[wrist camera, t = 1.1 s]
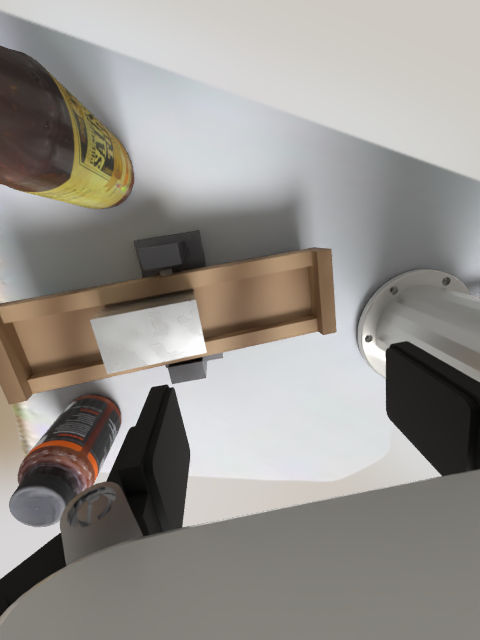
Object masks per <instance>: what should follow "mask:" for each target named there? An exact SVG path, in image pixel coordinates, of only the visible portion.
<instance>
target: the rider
mask: <svg viewBox="0 0 480 640" xmlns="http://www.w3.org/2000/svg"><path fill="white" fill-rule="evenodd" d="M90 322H91V325H92V328H93V331H94V335H95V338H96V341H97V344H98V347H99V350H100V353H101V356H102V359H103V362H104V366H105V369H106V372H107V374H111V373H116V372H120V371H125V370H130V369H134V368H139V367H143V366H148V365H152V364H157V363H162V362H166V361H171V360H175V359H180V358H185V357H189V356H194V355H198V354H203V353H207V352H206V347H205V342H204V337H203V332H202V327H201V322H200V318H199V313H198V308H197V303H196V298H195V293H194V290H189V291H184V292H178V293H173V294H168V295H162V296H157V297H152V298H147V299H141V300H136V301H131V302H125V303H120V304H115V305H109V306H105V307H104V308H103V309H101V310H100V311H99V312H98V313H97V314H96V315H95V316H94V317H93V318H91V319H90Z"/></svg>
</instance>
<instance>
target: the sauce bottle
mask: <svg viewBox="0 0 480 640" xmlns="http://www.w3.org/2000/svg"><path fill="white" fill-rule="evenodd" d="M0 184H3V185H6V186H8V187H10V188H13V189H16V190H19V191H23V192H27V193H31V194H34V195H38V196H43V197H47V198H51V199H55V200H59V201H63V202H67V203H71V204H75V205H79V206H83V207H86V208H94V209H104V208H111V207H114V206H117V205H119V204H121V203H122V202H123V201H125V200H126V199H127V197H128V196H129V194H130V192H131V190H132V187H133V184H134V173H133V167H132V162H131V160H130V158H129V156H128V153H127V152H126V150H125V148H124V147H123V145H122V144H121V143H120V141H119V140H118V139H117V138H116V137H115V136H114V135H113V134H112V133H111V132H110V131H109V130H108V129H107V128H106V127H105V126H104V125H103V124H102V123H101V122H100V121H99V120H97V119H96V118H95V117H94V116H93V115H92V114H91V113H90V112H89V111H88V110H87V109H86V108H85V107H84V106H83V105H82V104H81V103H80V102H79V101H78V100H77V99H76V98H75V97H74V96H73V95H72V94H71V93H70V92H68V91H67V90H66V89H65V88H64V87H63V86H62V85H61V84H60V83H59V82H58V81H57V80H56V79H55V78H54V77H53V76H52V75H51V74H50V73H49V72H48V71H47V70H46V69H45V68H44V67H43V66H42V65H41V64H39V63H38V62H37V61H36V60H34V59H33V58H32V57H30V56H28V55H26V54H24V53H22V52H18V51H15V50H11V49H8V48H5V47H3V46H0Z"/></svg>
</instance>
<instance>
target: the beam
mask: <svg viewBox="0 0 480 640" xmlns="http://www.w3.org/2000/svg"><path fill="white" fill-rule="evenodd" d="M159 273H160V275H157V276H152V277H146V278H140V279H135V280H129V281H124V282H118V283H113V284H107V285H101V286H96V287H90V288H85V289H79V290H73V291H68V292H62V293H57V294H51V295H45V296H40V297H34V298H29V299H23V300H18V301H12V302H6V303H1V304H0V385H1V387H2V389H3V392H4V394H5V396H6V398H7V400H8V403H9V404H14V403H18V402H23V401H27V400H28V399H29V398H30V397H31V395H32V394H35V393H39V392H44V391H48V390H53V389H57V388H62V387H67V386H71V385H76V384H80V383H85V382H89V381H94V380H99V379H103V378H108V377H112V376H117V375H121V374H126V373H131V372H135V371H140V370H144V369H149V368H153V367H158V366H163V365H167V364H172V363H176V362H181V361H185V360H190V359H194V358H199V357H204V356H208V355H213V354H217V353H222V352H226V351H231V350H236V349H240V348H245V347H249V346H254V345H258V344H263V343H268V342H272V341H277V340H281V339H286V338H290V337H295V336H300V335H304V334H309V333H313V332H320V333H321V334H322V335H326V334H330V333H335V332H336V318H335V302H334V286H333V270H332V254H331V249H326V248H315V247H314V248H308V249H303V250H297V251H291V252H286V253H280V254H275V255H269V256H263V257H258V258H252V259H247V260H241V261H236V262H230V263H224V264H219V265H213V266H208V267H202V268H196V269H191V270H185V271H180V272H174V273H172V269H164V270H160V271H159ZM189 290H194V293H195V298H196V303H197V308H198V313H199V318H200V322H201V327H202V332H203V337H204V342H205V347H206V352H207V353H203V354H198V355H194V356H189V357H185V358H180V359H175V360H171V361H166V362H162V363H157V364H152V365H148V366H143V367H139V368H134V369H130V370H125V371H120V372H116V373H111V374H107V372H106V369H105V366H104V362H103V359H102V356H101V353H100V350H99V347H98V344H97V341H96V338H95V335H94V331H93V328H92V325H91V322H90V319H91V318H93V317H94V316H95V315H96V314H97V313H98V312H99V311H100V310H101V309H103V308H104V307H105V306H109V305H115V304H120V303H125V302H131V301H136V300H141V299H147V298H152V297H157V296H162V295H168V294H173V293H178V292H184V291H189Z"/></svg>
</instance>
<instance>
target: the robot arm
mask: <svg viewBox="0 0 480 640" xmlns="http://www.w3.org/2000/svg"><path fill="white" fill-rule="evenodd" d="M390 289H391V290H390ZM358 344H359V349H360V352H361V354H362V356H363V358H364V360H365V361H366V363H367V364H368V365H369V366H370V367H371V368H372V369H373V370H374V371H375V372H376V373H378V374H379V375H381V376H382V377H384V378H386V411H387V415H388V417H389V419H390V420H391V421H392V422H393V423H394V424H395V425H396V427H397V428H398V429H399V430H400V431H401V432H402V433H403V434H404V435H405V436H406V437H407V438H408V439H409V441H410V442H411V443H412V444H413V445H414V446H415V447H416V448H417V449H418V450H419V451H420V453H421V454H422V455H423V456H424V457H425V458H426V459H427V460H428V461H429V462H430V463H431V464H432V466H433V467H434V468H435V469H436V470H437V471H438V472H439V473H440V474H441V475H442V476H441V477H436V478H431V479H425V480H420V481H415V482H410V483H405V484H400V485H394V486H389V487H384V488H379V489H374V490H368V491H364V492H358V493H353V494H348V495H343V496H339V497H333V498H328V499H323V500H317V501H312V502H308V503H302V504H297V505H292V506H288V507H282V508H277V509H272V510H267V511H262V512H257V513H252V514H247V515H242V516H237V517H232V518H227V519H222V520H218V521H213V522H207V523H203V524H198V525H193V526H188V527H183V528H182V524H183V515H184V506H185V497H186V488H187V480H188V471H189V462H190V448H189V444H188V440H187V436H186V432H185V428H184V424H183V420H182V416H181V412H180V409H179V405H178V401H177V397H176V393H175V389H174V388H173V387H172V388H169V386H168V385H161V386H156V387H152V388H151V390H150V392H149V394H148V397H147V399H146V402H145V404H144V407H143V409H142V411H141V414H140V416H139V419H138V421H137V424H136V426H134V427H131V428H130V429H129V431H128V433H127V435H126V438H125V440H124V442H123V445H122V447H121V449H120V451H119V454H118V456H117V458H116V461H115V463H114V465H113V467H112V470H111V472H110V474H109V477H108V479H107V481H106V482H102V483H98V484H95V485H93V486H91V487H89V488H87V489H85V490H84V491H82V492H81V493H79V494H78V495H77V496H76V497H75V498H73V499H72V500H71V501H70V503H69V504H68V505H67V506H66V508H65V509H64V511H63V513H62V515H61V518H60V529H61V533H60V534H58V535H57V536H56V537H54V538H53V539H52V540H50V541H49V542H48V543H47V544H45V545H44V546H43V547H41V548H40V549H39V550H38V551H37V552H35V553H34V554H32V555H31V556H30V557H29V558H27V559H26V560H25V561H23V562H22V563H21V564H20V565H18V566H17V567H16V568H14V569H13V570H12V571H11V572H9V573H8V574H7V575H5V576H4V577H3V578H2V579H0V640H480V297H476V296H472V295H471V294H470V292H469V290H468V288H467V287H466V286H465V285H464V284H463V283H462V282H461V281H460V280H459V279H457V278H456V277H454V276H453V275H451V274H448V273H445V272H442V271H437V270H432V269H418V270H413V271H408V272H405V273H403V274H400V275H398V276H396V277H394V278H392V279H391V280H389V281H387V282H386V283H385V284H384V285H382V286H381V287H380V288H379V289H378V290H377V291H376V292H375V293H374V294H373V296H372V297H371V298H370V299H369V301H368V303H367V304H366V306H365V308H364V310H363V312H362V315H361V317H360V321H359V325H358Z"/></svg>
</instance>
